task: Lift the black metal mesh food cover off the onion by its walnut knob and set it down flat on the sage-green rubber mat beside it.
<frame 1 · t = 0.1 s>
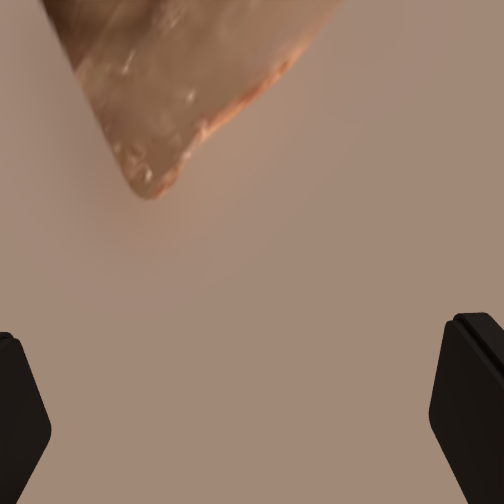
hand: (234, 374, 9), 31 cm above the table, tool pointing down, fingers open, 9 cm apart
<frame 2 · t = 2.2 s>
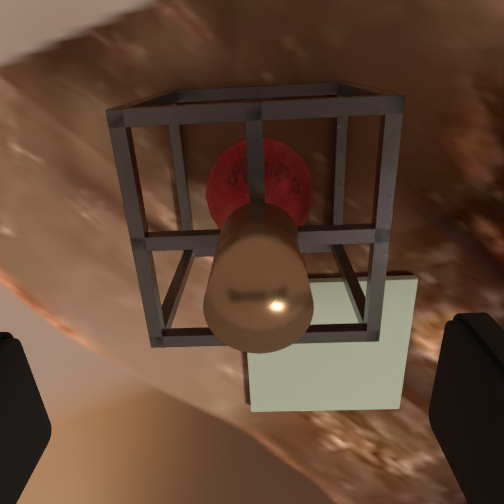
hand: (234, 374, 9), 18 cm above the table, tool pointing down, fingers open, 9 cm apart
mesh cover: (259, 175, 25), on the table
onion: (259, 174, 26), on the table
mat: (325, 346, 31), on the table
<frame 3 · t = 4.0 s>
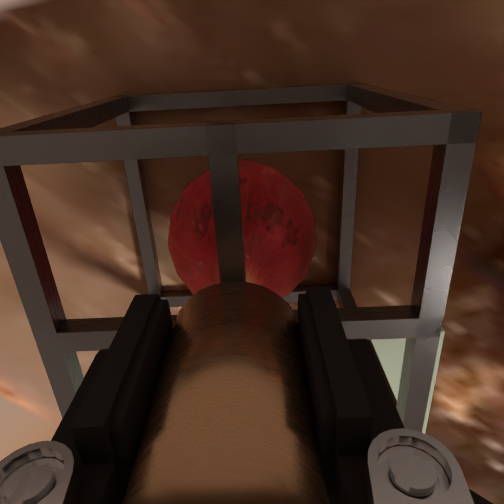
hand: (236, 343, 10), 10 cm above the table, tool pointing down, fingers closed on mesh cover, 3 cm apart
mesh cover: (243, 205, 19), on the table, touching gripper
onion: (244, 204, 20), on the table
mat: (328, 407, 25), on the table
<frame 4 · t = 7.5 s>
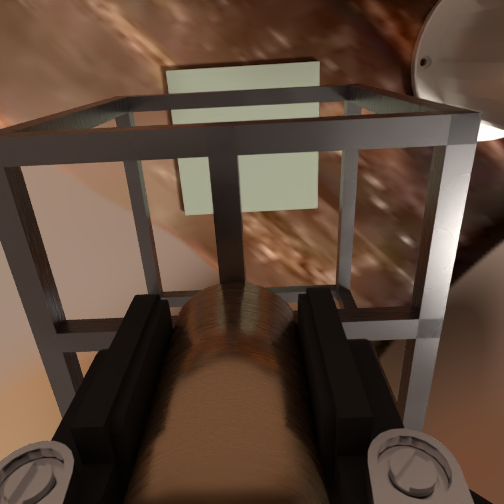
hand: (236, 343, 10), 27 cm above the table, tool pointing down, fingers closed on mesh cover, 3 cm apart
mesh cover: (243, 206, 19), point 17 cm above the table, touching gripper
mat: (247, 143, 35), on the table
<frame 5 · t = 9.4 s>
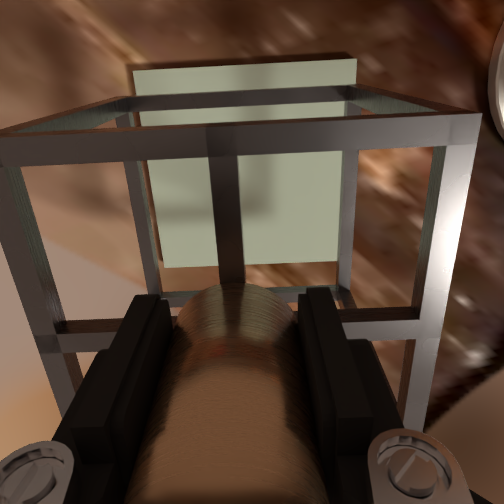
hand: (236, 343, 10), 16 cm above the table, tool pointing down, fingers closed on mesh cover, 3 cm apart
mesh cover: (243, 206, 19), point 6 cm above the table, touching gripper
mat: (249, 172, 25), on the table
when the fingers open (12 cm above the table, at t = 11.2 s): mesh cover drops 1 cm, resting on mat.
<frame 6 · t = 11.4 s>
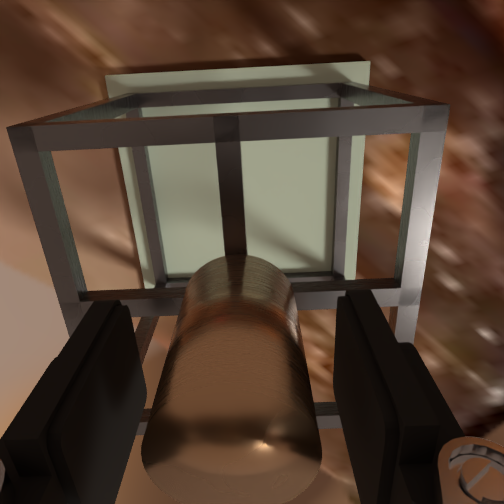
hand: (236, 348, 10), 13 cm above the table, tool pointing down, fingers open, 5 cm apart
mesh cover: (244, 196, 21), point 1 cm above the table, touching mat
mat: (244, 192, 21), on the table
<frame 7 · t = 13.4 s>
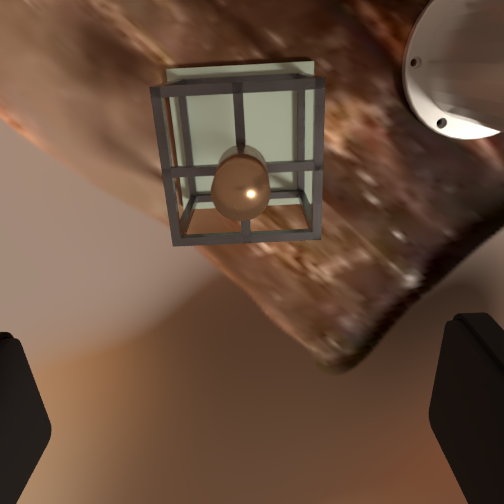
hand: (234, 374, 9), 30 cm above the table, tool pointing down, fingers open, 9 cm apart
mesh cover: (244, 140, 35), point 1 cm above the table, touching mat
mat: (244, 139, 36), on the table
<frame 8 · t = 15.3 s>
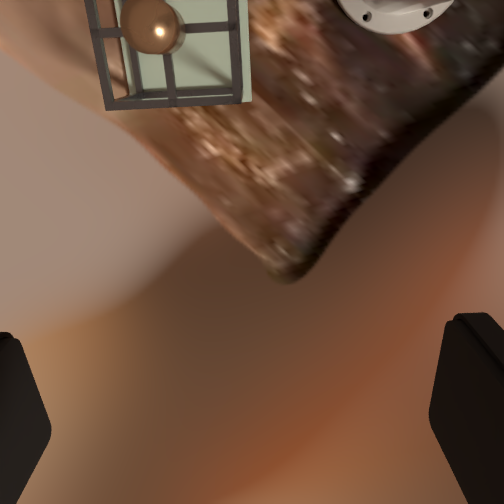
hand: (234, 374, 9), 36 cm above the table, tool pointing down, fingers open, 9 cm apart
mesh cover: (184, 36, 38), point 1 cm above the table, touching mat
mat: (185, 36, 38), on the table
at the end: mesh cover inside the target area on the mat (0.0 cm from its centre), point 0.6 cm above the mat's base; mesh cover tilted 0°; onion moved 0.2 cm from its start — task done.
